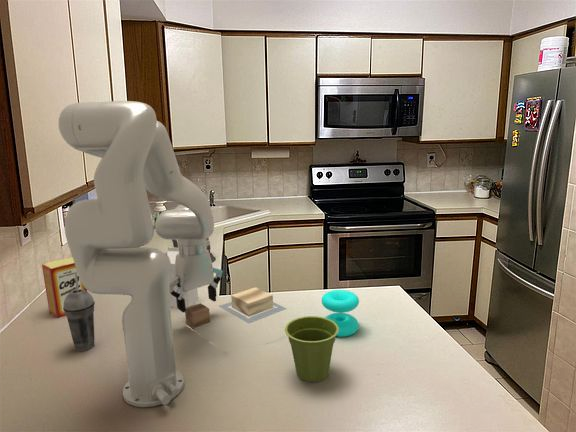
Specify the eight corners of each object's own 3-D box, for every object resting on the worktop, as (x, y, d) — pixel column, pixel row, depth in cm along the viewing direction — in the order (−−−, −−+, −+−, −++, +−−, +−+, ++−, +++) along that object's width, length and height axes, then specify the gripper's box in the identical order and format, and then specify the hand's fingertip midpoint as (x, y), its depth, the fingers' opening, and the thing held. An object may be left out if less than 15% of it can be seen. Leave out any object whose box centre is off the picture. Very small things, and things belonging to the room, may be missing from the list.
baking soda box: (80, 302, 138) (73, 255, 135) (89, 307, 134) (82, 259, 130) (49, 312, 131) (41, 263, 128) (57, 318, 127) (50, 267, 123)
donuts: (366, 295, 112) (341, 306, 106) (366, 330, 114) (341, 342, 108) (339, 285, 120) (313, 295, 114) (339, 318, 122) (314, 329, 116)
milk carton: (189, 310, 129) (184, 251, 125) (167, 309, 131) (162, 250, 127) (198, 301, 136) (194, 244, 132) (178, 300, 138) (173, 244, 134)
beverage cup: (66, 356, 105) (54, 280, 101) (72, 342, 112) (62, 271, 108) (97, 351, 107) (87, 277, 103) (102, 338, 114) (92, 267, 110)
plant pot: (275, 374, 95) (273, 328, 93) (310, 354, 103) (310, 311, 101) (314, 397, 87) (313, 347, 84) (349, 373, 95) (349, 327, 92)
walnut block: (210, 324, 120) (209, 308, 119) (194, 330, 117) (193, 313, 116) (201, 318, 124) (200, 303, 123) (186, 324, 121) (184, 308, 120)
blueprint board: (286, 311, 127) (286, 308, 127) (248, 325, 119) (248, 322, 118) (255, 295, 139) (255, 293, 139) (219, 308, 130) (218, 305, 130)
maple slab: (273, 307, 128) (272, 295, 127) (248, 316, 123) (248, 303, 122) (255, 298, 135) (255, 287, 134) (231, 307, 129) (231, 294, 128)
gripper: (212, 238, 124) (217, 292, 128) (156, 252, 113) (163, 310, 118) (226, 244, 119) (230, 300, 123) (169, 259, 108) (175, 320, 112)
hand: (197, 305), depth 120 cm, fingers open, 9 cm apart
